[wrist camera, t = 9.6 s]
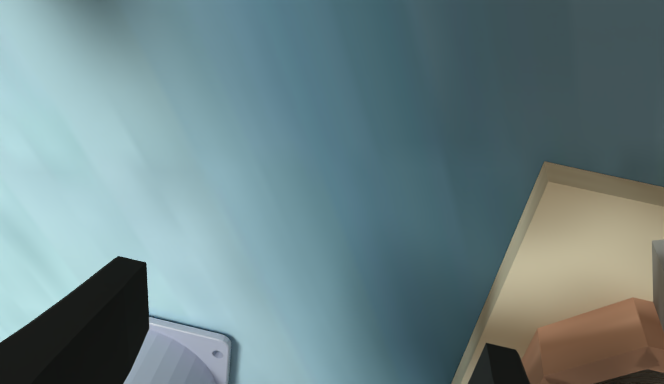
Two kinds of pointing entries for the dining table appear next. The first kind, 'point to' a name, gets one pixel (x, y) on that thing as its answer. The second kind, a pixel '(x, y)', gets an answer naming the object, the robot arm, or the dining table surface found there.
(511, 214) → the dining table surface
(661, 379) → the cylinder
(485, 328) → the coupling stand
